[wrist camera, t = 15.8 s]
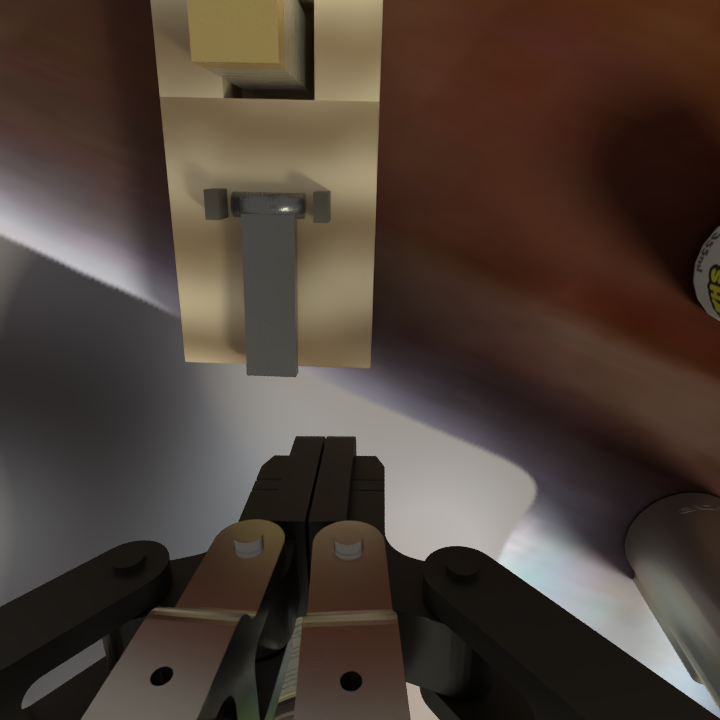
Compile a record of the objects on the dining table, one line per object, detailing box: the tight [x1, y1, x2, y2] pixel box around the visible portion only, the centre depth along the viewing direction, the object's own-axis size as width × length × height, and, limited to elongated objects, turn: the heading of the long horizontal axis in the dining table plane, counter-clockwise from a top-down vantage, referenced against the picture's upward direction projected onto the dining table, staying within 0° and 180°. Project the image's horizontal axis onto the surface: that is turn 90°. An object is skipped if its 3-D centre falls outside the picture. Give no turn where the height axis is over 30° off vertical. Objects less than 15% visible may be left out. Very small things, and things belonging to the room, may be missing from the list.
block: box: [150, 0, 383, 368], centre depth 32 cm, size 24×12×7 cm, turn 179°
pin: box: [187, 0, 313, 96], centre depth 27 cm, size 4×4×12 cm
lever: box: [231, 191, 306, 377], centre depth 31 cm, size 11×4×1 cm, turn 179°
